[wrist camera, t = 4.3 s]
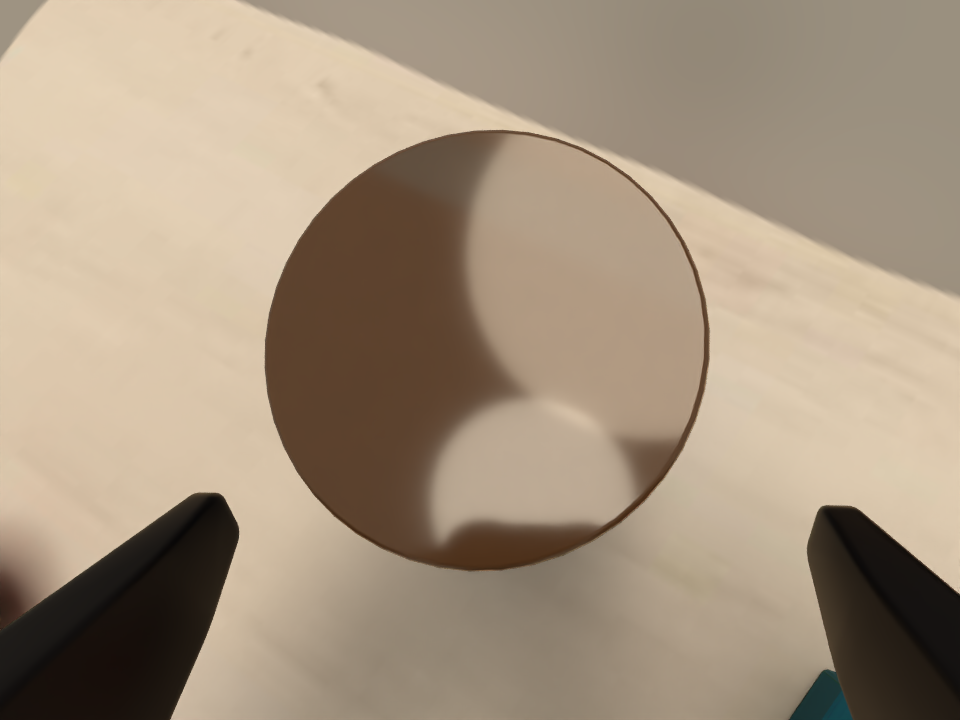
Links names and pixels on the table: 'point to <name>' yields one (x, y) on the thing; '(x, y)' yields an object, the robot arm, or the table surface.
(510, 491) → the spice jar
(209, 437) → the table surface
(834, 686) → the popsicle
